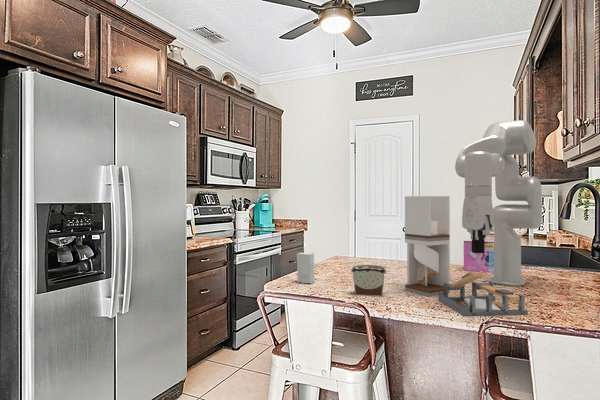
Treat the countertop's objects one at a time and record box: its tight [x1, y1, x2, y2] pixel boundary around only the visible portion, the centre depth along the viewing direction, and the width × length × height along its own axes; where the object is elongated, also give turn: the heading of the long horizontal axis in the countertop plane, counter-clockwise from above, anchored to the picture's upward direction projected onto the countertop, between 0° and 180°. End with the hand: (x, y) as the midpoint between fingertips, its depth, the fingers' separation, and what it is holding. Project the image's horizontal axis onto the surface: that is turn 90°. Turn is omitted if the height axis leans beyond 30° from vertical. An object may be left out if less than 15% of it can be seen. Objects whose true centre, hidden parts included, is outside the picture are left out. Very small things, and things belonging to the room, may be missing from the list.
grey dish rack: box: [437, 281, 529, 317], centre depth 122 cm, size 18×19×6 cm
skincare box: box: [296, 252, 316, 285], centre depth 158 cm, size 6×4×12 cm
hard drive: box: [463, 298, 501, 311], centre depth 122 cm, size 2×8×12 cm
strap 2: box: [476, 282, 520, 301], centre depth 123 cm, size 18×4×2 cm, turn 5°
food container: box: [350, 264, 387, 297], centre depth 140 cm, size 12×6×10 cm, turn 78°
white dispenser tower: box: [404, 195, 451, 298], centre depth 142 cm, size 11×11×35 cm
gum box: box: [463, 240, 494, 273], centre depth 182 cm, size 24×8×14 cm, turn 69°
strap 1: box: [448, 272, 485, 291], centre depth 123 cm, size 18×4×2 cm, turn 4°
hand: (478, 252), depth 118 cm, fingers closed
